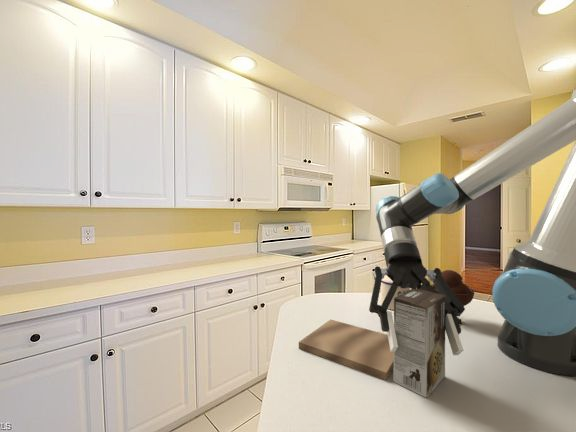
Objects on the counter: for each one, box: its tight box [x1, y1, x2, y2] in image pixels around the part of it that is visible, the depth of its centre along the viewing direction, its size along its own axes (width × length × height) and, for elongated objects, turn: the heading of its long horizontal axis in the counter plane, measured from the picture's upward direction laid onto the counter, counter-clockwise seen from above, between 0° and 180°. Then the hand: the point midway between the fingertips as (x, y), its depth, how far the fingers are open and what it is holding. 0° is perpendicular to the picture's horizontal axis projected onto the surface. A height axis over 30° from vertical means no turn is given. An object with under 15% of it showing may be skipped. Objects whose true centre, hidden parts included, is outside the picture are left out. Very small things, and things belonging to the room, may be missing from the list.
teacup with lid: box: [380, 275, 411, 311], centre depth 92 cm, size 12×9×12 cm
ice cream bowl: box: [430, 269, 475, 325], centre depth 79 cm, size 11×11×15 cm
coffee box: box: [392, 288, 446, 398], centre depth 52 cm, size 9×6×16 cm
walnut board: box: [298, 319, 394, 381], centre depth 64 cm, size 20×16×2 cm
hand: (425, 351), depth 49 cm, fingers closed on coffee box, 10 cm apart
